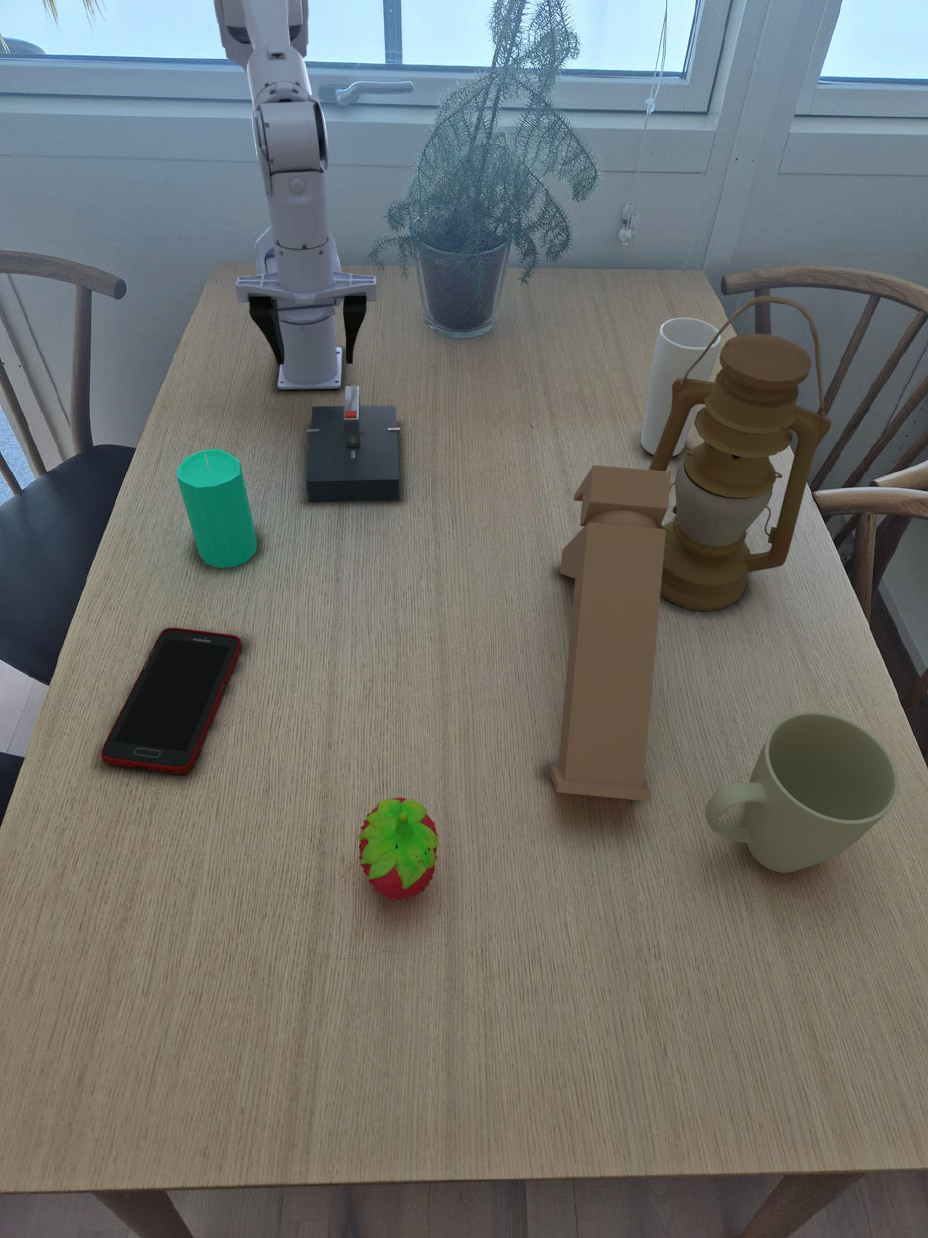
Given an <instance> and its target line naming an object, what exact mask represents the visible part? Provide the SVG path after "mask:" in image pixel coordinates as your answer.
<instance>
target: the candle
mask: <svg viewBox="0 0 928 1238" xmlns="http://www.w3.org/2000/svg"><path fill="white" fill-rule="evenodd" d="M176 478H177V482H178V486H179V489H180V493H181V496H182V500H183V503H184V506H185V510H186V513H187V517H188V520H189V524H190V527H191V530H192V535H193V537H194V542H195V544H196V545H195V546H196V549H197V552H198V555H199V557H200V558H201V559H202V560H203V562H204V563H205V564H206V565H209V566H211V567H215V568H218V569H224V568H236V567H238V566H240V565H242V564H244V563H247V562H249V561H250V560H251V558H252V557H253V556H254V555H255V554H256V552H257V548H258V546H257V545H258V539H257V536H256V529H255V526H254V520H253V517H252V512H251V506H250V502H249V496H248V493H247V492H248V491H247V488H246V484H245V483H246V482H245V479H244V474H243V469H242V464H241V461H240V459H238V458H237V457H236V456H234V454H231V453H229V452H226V451H225V450H223V449H221V448H211V449H203V450H200V451H198V452H195V453H193V454H190V455H188V456H186V458H185V459H184V460H183V461H182V462H181V463H180V464H179V465H178V467H177V471H176Z"/></svg>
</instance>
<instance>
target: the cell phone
mask: <svg viewBox="0 0 928 1238" xmlns="http://www.w3.org/2000/svg"><path fill="white" fill-rule="evenodd" d="M242 646H243V644H242V640H241V638H240V637H239V636H237V635H233V634H229V633H220V632H212V631H206V630H205V631H204V630H197V629H189V628H182V627H167V628H165V629H163V630H162V631H161V632H160V634H159V636H158V637H157V639H156V640H155V643H154V645H153V646H152V649H151V651H150V652H149V654H148V657H147V658H146V661H145V663H144V664H143V666H142V668H141V670H140V672H139V674H138V676H137V678H136V679H135V682H134V684H133V686H132V687H131V690H130V692H129V693H128V696H127V698H126V700H125V701H124V704H123V705H122V708H121V710H120V711H119V714H118V715H117V718H116V720H115V721H114V723H113V726H112V728H111V729H110V732H109V733H108V736H107V738H106V739H105V742H104V744H103V747H102V749H101V752H100V753H101V754H100V757H101V758H102V761H103V762H104V763H106V764H108V765H112V766H118V767H122V766H125V767H126V768H131V769H132V768H133V769H136V768H137V767H144V768H148V769H149V771H155V772H161V773H168V774H177V775H181V774H183V775H184V774H187V773H188V772H190V771H191V770H192V768H193V767H194V764H195V763H196V761H197V758H198V756H199V753H200V750H201V748H202V746H203V744H204V741H205V738H206V736H207V733H208V731H209V729H210V726H211V724H212V721H213V719H214V717H215V714H216V712H217V709H218V706H219V704H220V702H221V699H222V697H223V695H224V693H223V692H224V690H225V688H226V686H227V685H228V682H229V680H230V677H231V675H232V673H233V671H234V668H235V665H236V662H237V660H238V658H239V657H240V653H241V650H242Z"/></svg>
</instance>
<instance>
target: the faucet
mask: <svg viewBox="0 0 928 1238" xmlns="http://www.w3.org/2000/svg"><path fill="white" fill-rule="evenodd" d="M671 477H672V471H667V470H666V471H656V470H649V469H644V468H634V467H633V468H632V467H631V468H630V467H620V466H618V467H617V466H607V465H595V464H594V465H592V466H591V468H590V470H589V471H588V472H587V474H586V476H585V477H584V478H583V481H582V482H581V483H580V485H579V487H578V488H577V490H576V491H575V493H574V495H573V501H574V502H581V510H580V521H579V523H580V524H579V527H582V528H581V529H580V530H579V531H578V533H576V535H574V537H573V538H572V539H571V540H570V541H569V542H568V543H567V544H566V545H565V546H564V547H563V548H562V549H561V560H560V569H559V570H560V571H559V573H560V575H564V576H566V577H569V578H572V579H574V587H573V588H574V589H573V598H572V599H573V600H572V611H571V622H570V632H569V635H570V636H569V643H568V655H567V665H566V666H567V668H566V675H565V677H566V678H565V688H564V699H563V711H562V721H561V733H560V741H559V742H560V744H559V756H558V766H552V765H550V772H549V776H550V779H551V781H552V783H553V787H554V789H555V791H556V793H561V794H570V795H581V796H590V797H601V798H611V799H622V800H633V801H641V802H643V801H644V802H652V790H651V789H650V788H649V786H648V785H646V784H645V782H644V779H645V769H646V757H647V748H648V747H647V745H648V736H649V735H648V734H649V725H650V724H649V723H650V713H651V702H652V691H653V680H654V679H653V678H654V670H655V669H654V668H655V657H656V645H657V635H658V624H659V613H660V612H659V611H660V602H661V601H660V600H661V596H660V591H661V580H662V569H663V558H664V547H665V536H666V529H658V528H659V527H660V525H662V523H663V522H664V521H663V520H664V518H665V516H666V514H667V511H668V509H669V502H670V501H669V500H670V493H669V491H670V492H671V490H670V486H671V479H672V478H671Z"/></svg>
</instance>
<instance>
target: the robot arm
mask: <svg viewBox="0 0 928 1238" xmlns="http://www.w3.org/2000/svg"><path fill="white" fill-rule="evenodd" d="M212 2H213V7H214V13H215V20H216V24H217V26H218V30H219V36H220V42H221V48H223V49H224V51H225V52H224V53H225V58H226V59H227V60H230V62H232V63H234V64H236V65H238V66H240V67H242V69H243V71H244V74H245V76H246V78H247V81H248V85H249V91H250V97H251V103H252V108H253V109H252V110H251V125H252V134H253V141H254V146H255V147H254V148H255V153H256V160H257V163H258V166H259V169H260V172H261V176H262V181H263V186H264V191H265V195H266V199H267V207H268V213H269V220H270V221H269V222H270V226H269V227H268V228H267V229H266V230H265V231H264V232H263V233H262V234H261V235H260V236H259V238H258V239H256V241H255V246H254V247H253V248H254V249H253V250H254V255H255V262H254V264H255V269H256V275H247V276H245V275H244V276H237V277H236V281H235V289H236V295H237V301H238V303H240V304H241V303H242V304H243V303H244V304H245V303H249V305H248V306H249V310H248V313H249V316H250V318H251V320H252V321H253V323H255V325H256V326H257V327H258V328H259V330H260V331H261V332H262V334H263V336H264V338H265V339H266V341H267V343H268V345H269V346H270V349H271V350H272V354H273V355H274V358H275V361H276V365H278V366H279V373H278V379H277V388H278V389H279V390H331V389H333V390H335V389H337V390H338V389H340V388H341V387H342V367H343V348H342V347H340V346H337V341H336V331H335V320H334V316H335V315H336V307H340V306H341V304H342V317H343V326H344V335H345V363H346V364H347V365H352V364H353V363H354V350H355V345H356V340H357V337H358V334H359V331H360V329H361V327H362V324H363V322H364V321H365V317H366V314H367V310H368V308H367V307H368V306H367V305H368V304H367V302H369V303H371V302H373V303H375V302H378V300H377V298H378V296H377V294H378V293H377V276H376V275H362V274H356V273H348V272H343V271H342V267H341V262H340V258H339V256H338V249H337V244H336V243H337V242H336V241H335V240H334V238H333V236H332V235H331V232H330V222H329V221H330V219H329V211H328V201H327V200H328V198H327V188H326V186H327V185H326V178H325V177H326V176H325V171H328V167H329V141H328V139H329V138H328V131H327V125H326V118H325V115H324V112H323V108H322V105H321V102H320V99H319V98H318V97H317V95H316V94H313V92H312V87H311V83H310V78H309V74H308V70H307V65H306V62H305V60H304V59H305V58H306V57H307V56H308V45H309V41H310V40H309V19H310V10H309V0H213V1H212ZM321 163H322V164H323V168H322V166H321ZM324 170H325V171H324Z"/></svg>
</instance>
